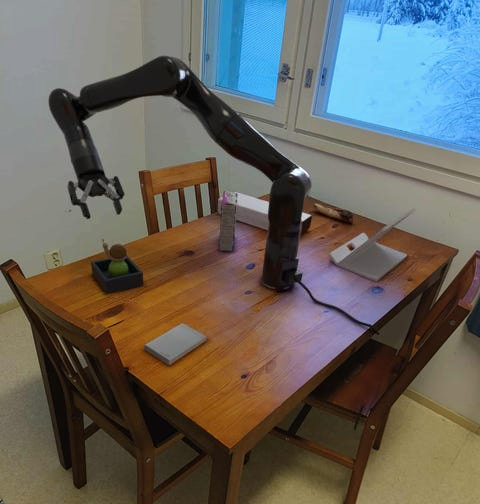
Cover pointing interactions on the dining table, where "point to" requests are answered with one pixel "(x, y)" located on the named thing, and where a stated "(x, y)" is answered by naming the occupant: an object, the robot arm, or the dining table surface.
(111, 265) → the snail figurine
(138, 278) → the holder
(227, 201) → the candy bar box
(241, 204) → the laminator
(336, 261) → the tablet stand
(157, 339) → the hard drive
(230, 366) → the dining table surface
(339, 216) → the wooden log
